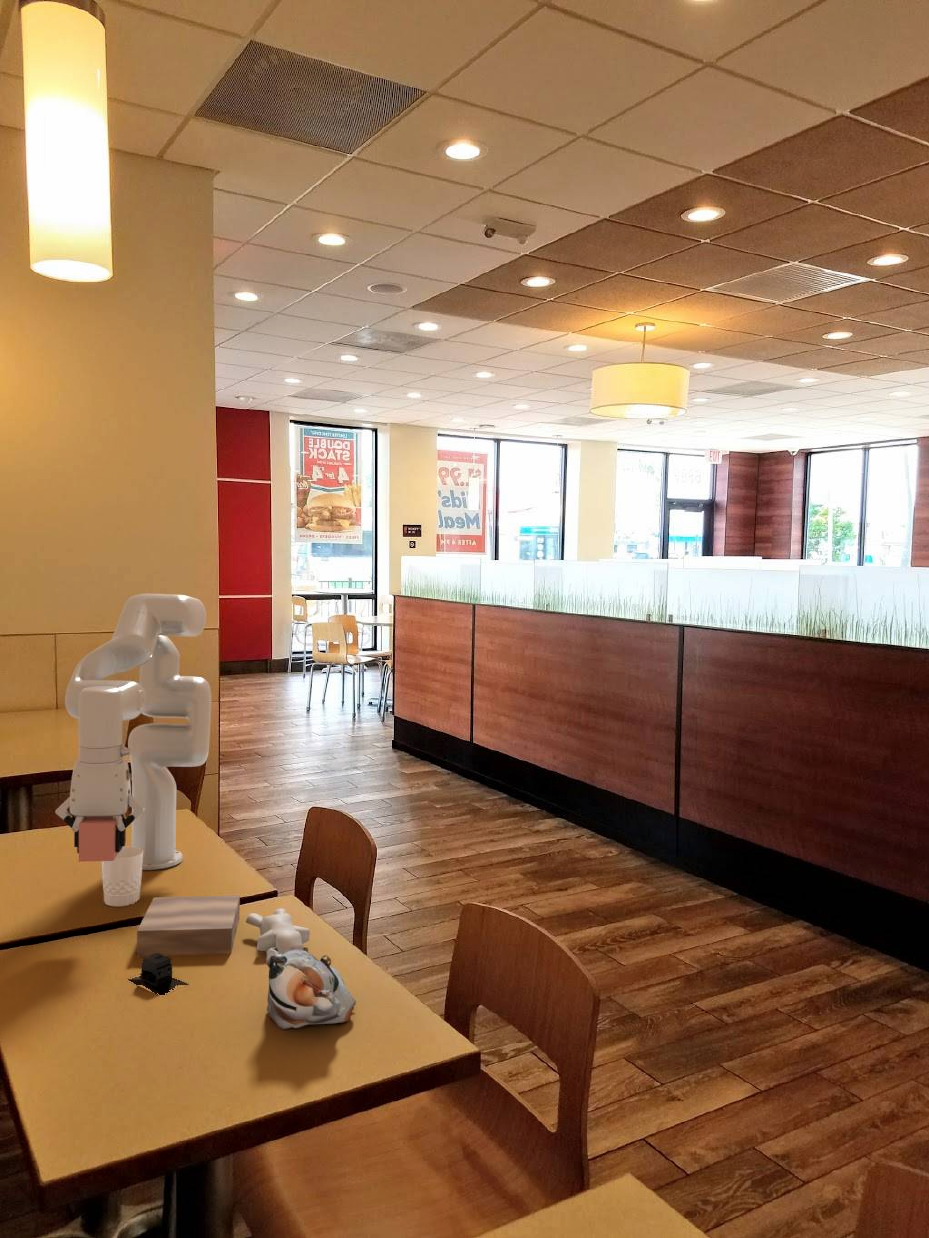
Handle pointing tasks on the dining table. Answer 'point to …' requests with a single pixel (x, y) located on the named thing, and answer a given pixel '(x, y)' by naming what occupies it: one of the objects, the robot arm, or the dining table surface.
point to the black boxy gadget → (157, 974)
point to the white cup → (123, 877)
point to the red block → (97, 839)
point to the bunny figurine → (278, 932)
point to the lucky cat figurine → (305, 990)
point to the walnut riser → (189, 926)
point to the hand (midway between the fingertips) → (100, 849)
